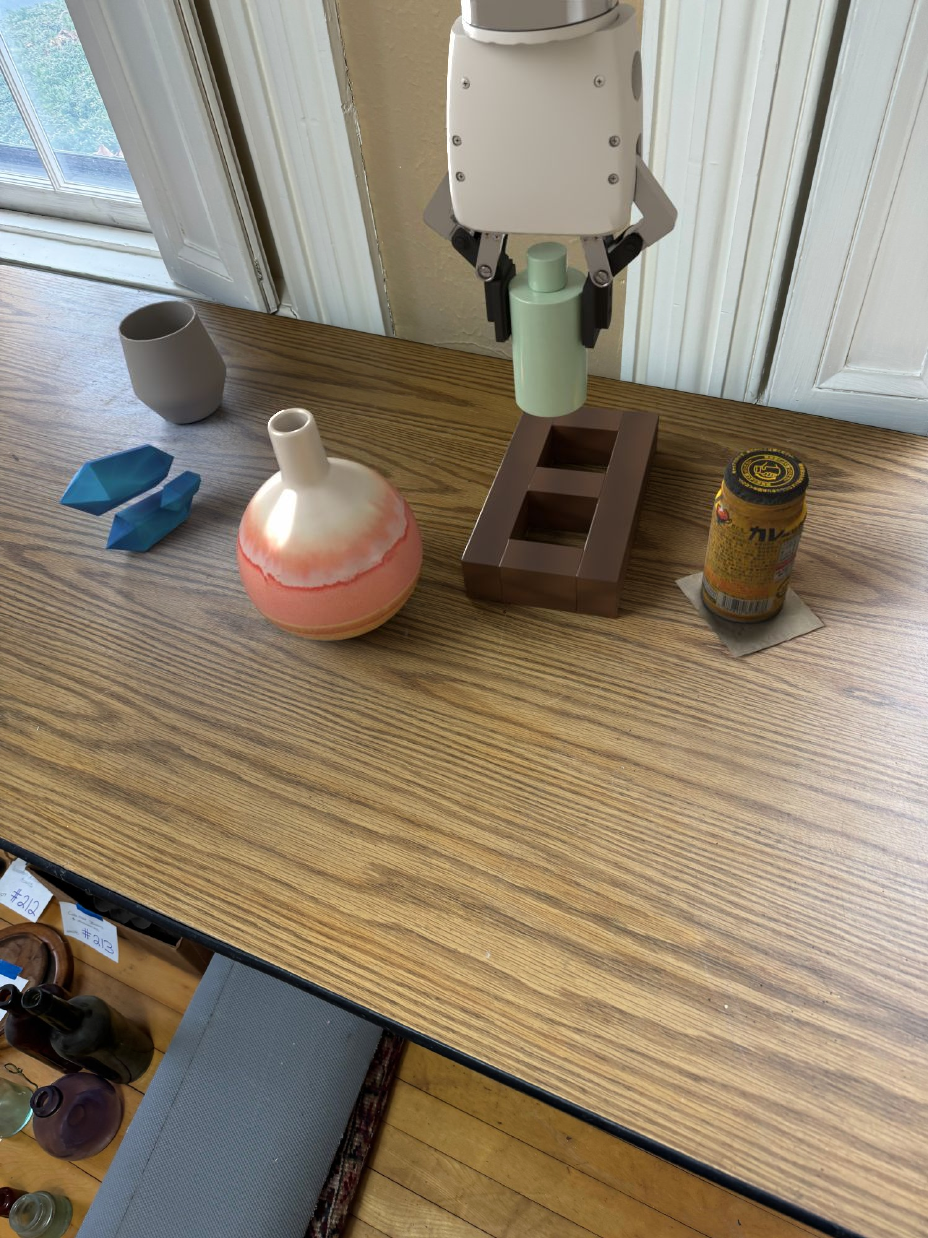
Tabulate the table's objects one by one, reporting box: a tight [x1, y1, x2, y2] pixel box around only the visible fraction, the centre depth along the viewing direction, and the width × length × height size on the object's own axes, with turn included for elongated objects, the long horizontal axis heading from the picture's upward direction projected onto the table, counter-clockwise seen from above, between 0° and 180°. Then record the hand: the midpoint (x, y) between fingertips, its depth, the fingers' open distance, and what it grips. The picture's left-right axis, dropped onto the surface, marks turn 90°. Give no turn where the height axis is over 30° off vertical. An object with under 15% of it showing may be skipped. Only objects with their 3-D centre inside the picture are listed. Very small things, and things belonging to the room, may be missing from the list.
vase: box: [235, 407, 424, 642], centre depth 61 cm, size 14×14×18 cm
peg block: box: [460, 406, 660, 619], centre depth 70 cm, size 12×21×4 cm, turn 163°
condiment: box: [674, 447, 825, 658], centre depth 59 cm, size 7×8×12 cm
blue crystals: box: [58, 443, 202, 553], centre depth 74 cm, size 7×9×12 cm
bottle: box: [508, 241, 589, 417], centre depth 54 cm, size 5×5×10 cm
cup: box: [117, 300, 227, 424], centre depth 86 cm, size 10×9×10 cm
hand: (549, 330), depth 54 cm, fingers closed on bottle, 4 cm apart
